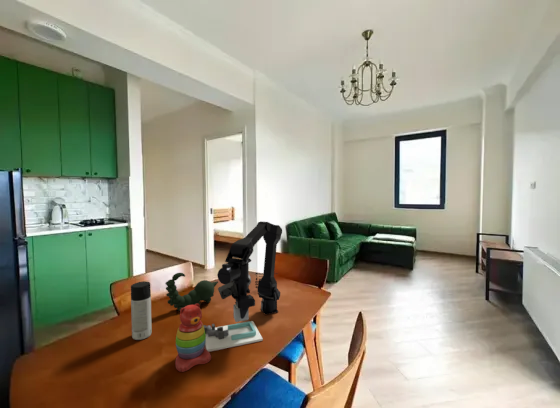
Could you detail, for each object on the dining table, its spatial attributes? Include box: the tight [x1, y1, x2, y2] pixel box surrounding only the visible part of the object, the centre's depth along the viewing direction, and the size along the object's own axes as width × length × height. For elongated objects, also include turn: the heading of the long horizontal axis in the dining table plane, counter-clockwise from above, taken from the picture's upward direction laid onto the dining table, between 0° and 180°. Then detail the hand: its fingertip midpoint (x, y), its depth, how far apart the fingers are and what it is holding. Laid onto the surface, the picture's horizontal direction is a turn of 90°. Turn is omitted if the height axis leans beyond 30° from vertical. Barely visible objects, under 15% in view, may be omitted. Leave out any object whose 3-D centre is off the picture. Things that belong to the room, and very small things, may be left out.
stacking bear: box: [175, 303, 212, 373], centre depth 87 cm, size 11×10×18 cm
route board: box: [203, 320, 264, 353], centre depth 101 cm, size 20×14×3 cm
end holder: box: [227, 320, 256, 340], centre depth 102 cm, size 9×9×2 cm
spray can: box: [130, 281, 152, 341], centre depth 100 cm, size 7×7×20 cm
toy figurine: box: [165, 272, 219, 312], centre depth 126 cm, size 9×19×25 cm
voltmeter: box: [249, 272, 279, 289], centre depth 149 cm, size 27×11×10 cm, turn 94°
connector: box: [232, 304, 250, 323], centre depth 102 cm, size 5×4×5 cm
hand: (241, 315), depth 102 cm, fingers closed on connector, 4 cm apart
